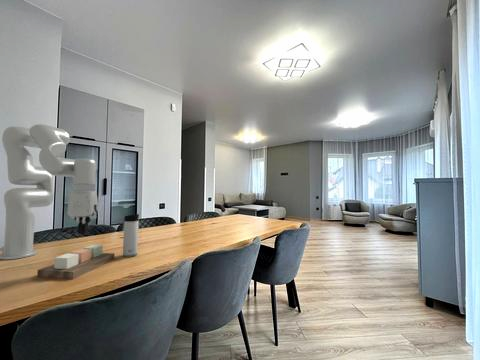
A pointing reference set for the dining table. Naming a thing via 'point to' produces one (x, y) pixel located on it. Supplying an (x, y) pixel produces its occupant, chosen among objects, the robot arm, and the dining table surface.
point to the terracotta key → (83, 255)
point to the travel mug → (130, 235)
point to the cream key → (66, 261)
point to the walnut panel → (75, 268)
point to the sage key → (95, 250)
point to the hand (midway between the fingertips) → (82, 233)
